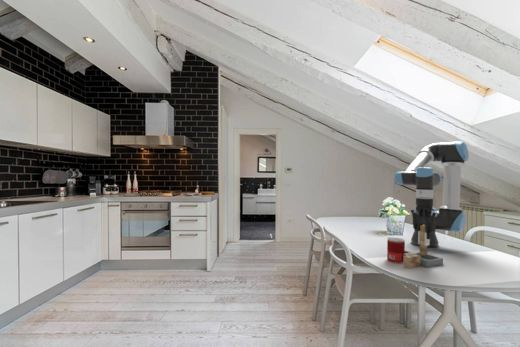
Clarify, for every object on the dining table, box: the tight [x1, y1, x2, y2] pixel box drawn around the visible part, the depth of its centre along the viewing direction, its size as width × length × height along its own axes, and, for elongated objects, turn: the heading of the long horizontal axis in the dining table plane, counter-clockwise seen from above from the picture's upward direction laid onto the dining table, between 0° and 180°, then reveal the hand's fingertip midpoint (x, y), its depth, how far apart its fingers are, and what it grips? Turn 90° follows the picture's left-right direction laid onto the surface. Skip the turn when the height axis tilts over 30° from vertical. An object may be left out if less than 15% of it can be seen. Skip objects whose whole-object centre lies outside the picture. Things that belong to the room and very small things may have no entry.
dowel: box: [419, 225, 428, 256], centre depth 142 cm, size 3×3×15 cm
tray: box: [405, 251, 444, 268], centre depth 142 cm, size 12×12×3 cm
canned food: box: [386, 237, 406, 264], centre depth 145 cm, size 8×8×11 cm
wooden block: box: [402, 254, 421, 269], centre depth 136 cm, size 8×3×5 cm, turn 114°
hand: (423, 244), depth 142 cm, fingers closed on dowel, 3 cm apart
